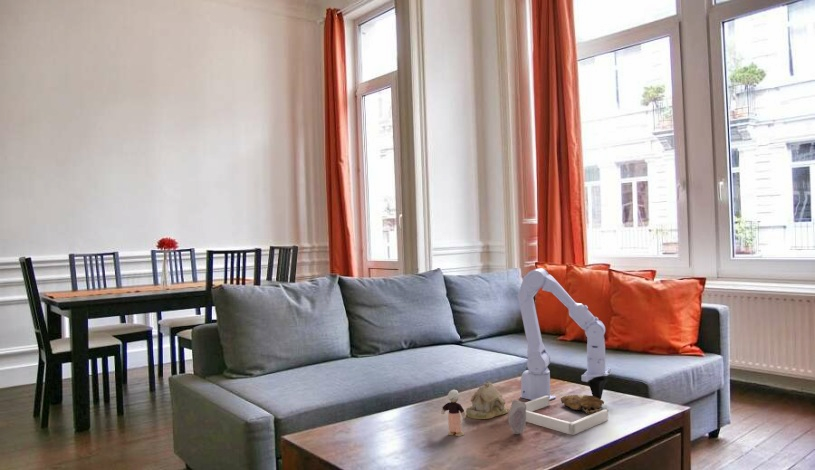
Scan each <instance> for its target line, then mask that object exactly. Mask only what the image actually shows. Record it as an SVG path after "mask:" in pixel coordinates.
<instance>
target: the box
mask: <svg viewBox="0 0 815 470" xmlns="http://www.w3.org/2000/svg"><path fill="white" fill-rule="evenodd" d="M524 403H525V404H526V423H530V424H534V425H536V426H541V427H543V428H546V429H551V430H554V431H557V432H560V433H564V434H567V435H570V436H574V435H576V434H579V433H581V432H584V431H586V430H588V429H590V428H593V427H595V426H598V425H600V424H603V423H605V422H607V421H608V420H609V416H608V415H609V410H608V409H601V410H600V411H599V412H596V413H594V414H591V415H590V414H588V415H587V416H584V417H582V418H579V419H577V420H574V421H572V422H570V421H567V420H563V419H559V418H555V417H554V416H553V417H552V416H548V415H544V414H541V413H538V412H535V411H537V410H540V409H544V408H546V407H548V406H550V400H549V396H543V397H540V398H537V399H534V400H529V401H526V402H525V401H524ZM510 409H511V406H510ZM510 409H509V410H510Z"/></svg>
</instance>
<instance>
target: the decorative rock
mask: <svg viewBox="0 0 815 470" xmlns="http://www.w3.org/2000/svg"><path fill="white" fill-rule="evenodd" d="M560 402H561V404H563V405H564V406H565V407H569V408H570V409H571V410H576V411H578V410H579V411H581V412H583V413H586V414H588V415H591V414H594V413H596V412H599V411H601V410H602V406H603V405H604V404H605V401H604V400H603V399H601V400H600V399H599V398H597V397H595V396H592V395H588V394H574V395H572V394H571V395H567V396H566V395H563V396H562V397H560Z"/></svg>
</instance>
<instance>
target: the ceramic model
mask: <svg viewBox="0 0 815 470" xmlns="http://www.w3.org/2000/svg"><path fill="white" fill-rule="evenodd" d="M470 402H471V403H472V404H471V405H472V406H469V407H466V409H465V414H466V415H467V416H466V417H468V418H470V419H475V420H486V419H487V420H488V419H493V418H494V417H498V416H501V415H504V414H507V413H509V411H508V409H507V408H506V407H505V404H506V401H505V399H503V395H502V393H501V392H500V391H499V389H498V388H496V387H495V386H494V385H493V383H492V382H489V381H485V382H483V385H480V386H479V388H478V389H477V390H476V391H475V392H474V393H473V395H472V396H471V398H470Z"/></svg>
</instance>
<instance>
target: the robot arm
mask: <svg viewBox="0 0 815 470" xmlns="http://www.w3.org/2000/svg"><path fill="white" fill-rule="evenodd" d="M541 288H542V289H541ZM540 289H541V290H542V291H544V292H547V293H548V292H549V293H551V294H553V296H555V297H556V298H557V299H558V301H559V302H561V303H562V304H563V305H564V306H565V307H566V308H567V309H568V315H569V317H570V318H571V319H572V320H573V321H574V322H575V323H576V324H577V325H578V326H579V328H581V329H582V330H583V331H584V333H585V337H587V338H586V340H587V341H586V342H587V344H586V357H587V358H586V363H587V366H586V367H587V370H586V371H585V372H584V373H583V374H581V381H582V382H586V383H587V385H588V387H589V388H590V392H591V394H592V395H591V396H595V397H597V398H599V399H600V400H602V397H603V396H602V395H603V393H604V388H605V385H606V383H607V382H608V377H607V376H609V375H611V374H612V368H611V367H607V366H606V344H605V342H606V339H605V333H606V326H605V324H604V323H603V321H601V320H599V317H597V316H594V315H593V313H592V312H591V311H590V310H589V307H588V305H587V304H583V303H579V302H576V301H575V300H574V299H573V298H572V296H570V295H569V293H568V292H567V291H566V289H564V287H563V286H562V285H561V284H560V283H559V282H558V280H556V278H554V276H552V275H551V274H549V273H548V271H547V270H546V269H544V268H539V267H538V268H535V269H531V270H530V271H528V273H526V275H525V276H524V277H522V283H521V285H520V287H519V290H518V292H517V298H518V303H519V308H520V313H521V318H522V319H521V320H522V322H523V329H524V333H525V339H526V344H527V352H526V354H527V361H526V367H527V370H526V369H525V370H524V371H523V372H522V374H521V377H520V393H521V394H520V395H519V397H520V398H522V399H526V400H529V401H531V400H534V399H537V398H540V397H543V396H549V401H551V400H553V399H556V398H557V397H556V396H555V395H551V373H550V372H551V371H550V369H549V368H548V366H549V365H550V363H551V356H550V355H549V353H548V352H547V350H546V346H545V345H544V343H543V338H542V333H541V329H540V324H539V319H538V314H537V309H536V304H535V300H534V297H535V296H536V295H537V293H538V291H540Z"/></svg>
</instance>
